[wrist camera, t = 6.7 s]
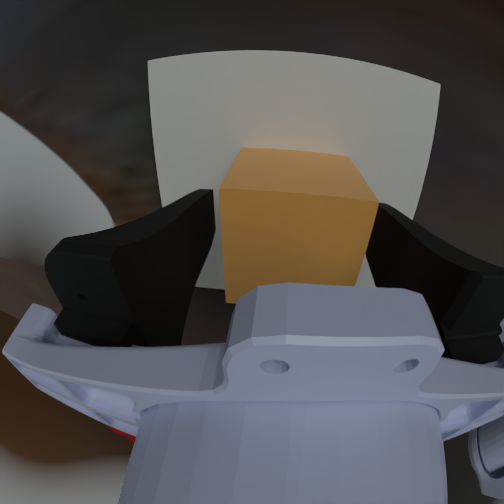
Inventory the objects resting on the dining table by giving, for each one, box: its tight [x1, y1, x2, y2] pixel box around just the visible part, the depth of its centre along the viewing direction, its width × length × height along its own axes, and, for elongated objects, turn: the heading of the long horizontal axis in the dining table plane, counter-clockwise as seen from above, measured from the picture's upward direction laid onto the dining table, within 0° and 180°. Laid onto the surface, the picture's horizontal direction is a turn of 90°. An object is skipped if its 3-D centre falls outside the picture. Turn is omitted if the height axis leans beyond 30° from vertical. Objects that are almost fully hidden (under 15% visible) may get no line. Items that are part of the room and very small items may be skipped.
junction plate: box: [148, 50, 441, 289], centre depth 12 cm, size 14×14×4 cm
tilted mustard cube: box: [219, 147, 379, 304], centre depth 11 cm, size 5×5×5 cm
